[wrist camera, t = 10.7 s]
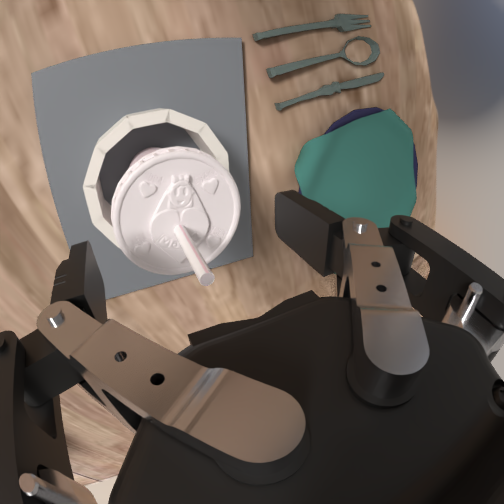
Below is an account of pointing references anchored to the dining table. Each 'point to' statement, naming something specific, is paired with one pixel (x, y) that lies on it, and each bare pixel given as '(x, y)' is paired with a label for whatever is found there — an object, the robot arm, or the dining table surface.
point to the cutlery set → (354, 145)
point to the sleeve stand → (139, 136)
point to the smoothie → (175, 211)
